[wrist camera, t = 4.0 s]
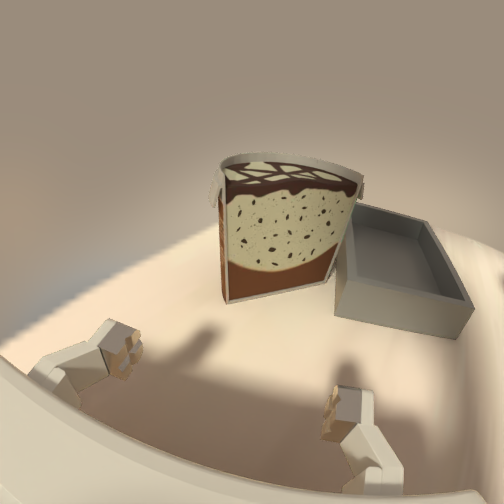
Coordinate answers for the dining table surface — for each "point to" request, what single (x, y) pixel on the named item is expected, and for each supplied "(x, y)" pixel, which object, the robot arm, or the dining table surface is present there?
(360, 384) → the dining table surface
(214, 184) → the ice cream cake half
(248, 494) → the robot arm
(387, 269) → the bin
